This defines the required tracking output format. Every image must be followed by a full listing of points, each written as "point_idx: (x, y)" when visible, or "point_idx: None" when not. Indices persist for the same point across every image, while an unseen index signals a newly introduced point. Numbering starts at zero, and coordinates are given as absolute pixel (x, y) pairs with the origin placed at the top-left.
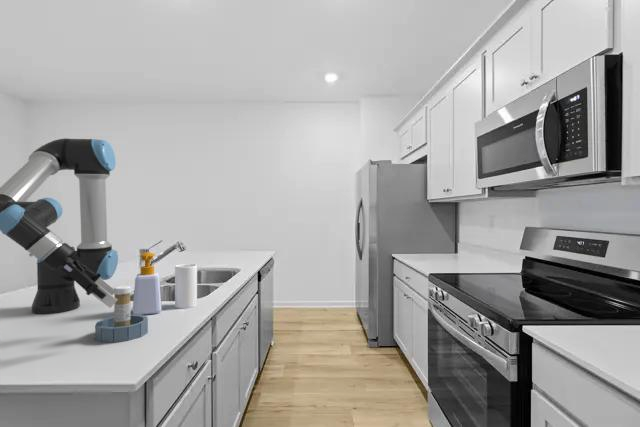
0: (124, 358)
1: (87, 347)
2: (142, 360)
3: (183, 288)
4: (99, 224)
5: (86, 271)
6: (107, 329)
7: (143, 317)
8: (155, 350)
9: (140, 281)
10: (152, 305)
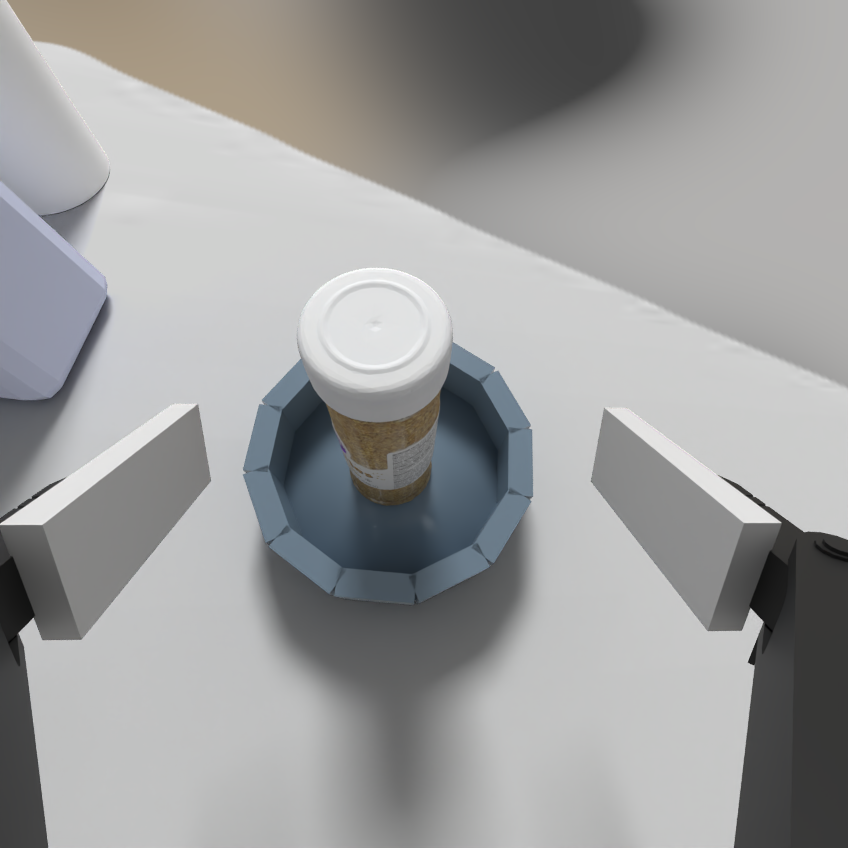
0: (751, 477)
1: (541, 640)
2: (789, 418)
3: (15, 78)
4: None
5: (2, 823)
6: (511, 531)
7: None
8: (687, 366)
9: None
10: (69, 284)
